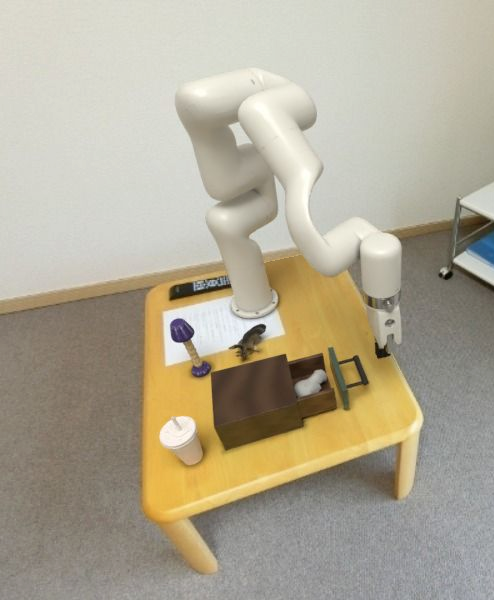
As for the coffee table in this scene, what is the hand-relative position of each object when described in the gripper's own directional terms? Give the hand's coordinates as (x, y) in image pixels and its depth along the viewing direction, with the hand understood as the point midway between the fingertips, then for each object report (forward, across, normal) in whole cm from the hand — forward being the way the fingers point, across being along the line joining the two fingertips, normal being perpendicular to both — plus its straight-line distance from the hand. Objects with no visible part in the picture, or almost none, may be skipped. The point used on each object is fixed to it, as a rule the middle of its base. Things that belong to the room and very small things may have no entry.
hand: (383, 354), depth 95 cm
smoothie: (+8, -6, +42) cm, 43 cm away
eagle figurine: (+8, +19, +28) cm, 35 cm away
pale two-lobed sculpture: (+6, 0, +16) cm, 18 cm away
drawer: (+7, 0, +15) cm, 16 cm away
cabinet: (+8, 0, +28) cm, 29 cm away
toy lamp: (+8, +16, +40) cm, 44 cm away
